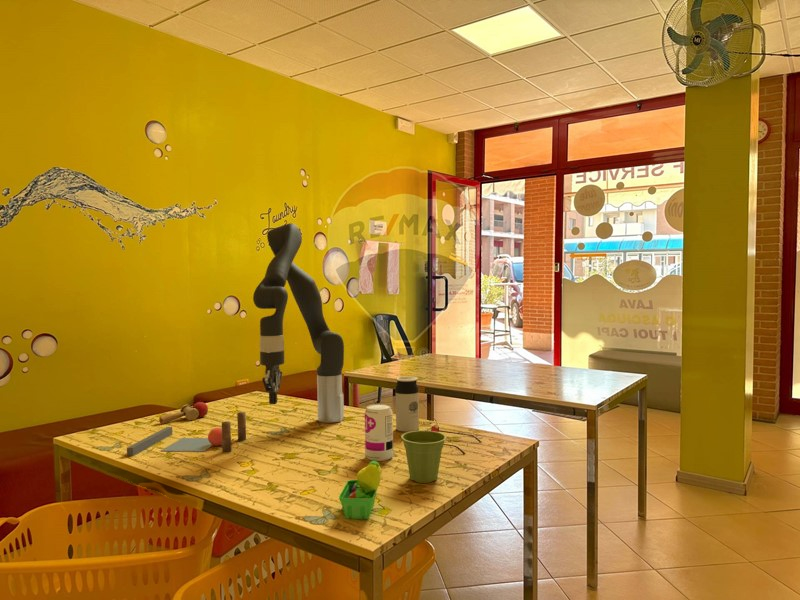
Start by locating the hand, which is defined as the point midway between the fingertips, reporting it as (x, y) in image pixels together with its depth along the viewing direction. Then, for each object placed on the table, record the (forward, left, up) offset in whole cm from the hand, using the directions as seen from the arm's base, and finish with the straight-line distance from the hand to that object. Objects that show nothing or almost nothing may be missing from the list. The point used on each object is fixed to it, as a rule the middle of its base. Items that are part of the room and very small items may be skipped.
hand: (273, 403), depth 177 cm
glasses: (-56, -3, -14) cm, 58 cm away
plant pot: (-49, +27, -14) cm, 58 cm away
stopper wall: (+41, 0, -14) cm, 43 cm away
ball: (+19, 0, -11) cm, 21 cm away
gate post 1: (+13, +6, -14) cm, 20 cm away
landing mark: (+27, 0, -14) cm, 30 cm away
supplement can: (-35, +10, -14) cm, 39 cm away
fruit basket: (-36, +48, -14) cm, 62 cm away
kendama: (+45, -32, -14) cm, 57 cm away
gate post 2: (+13, -6, -14) cm, 20 cm away
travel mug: (-41, -21, -14) cm, 48 cm away
